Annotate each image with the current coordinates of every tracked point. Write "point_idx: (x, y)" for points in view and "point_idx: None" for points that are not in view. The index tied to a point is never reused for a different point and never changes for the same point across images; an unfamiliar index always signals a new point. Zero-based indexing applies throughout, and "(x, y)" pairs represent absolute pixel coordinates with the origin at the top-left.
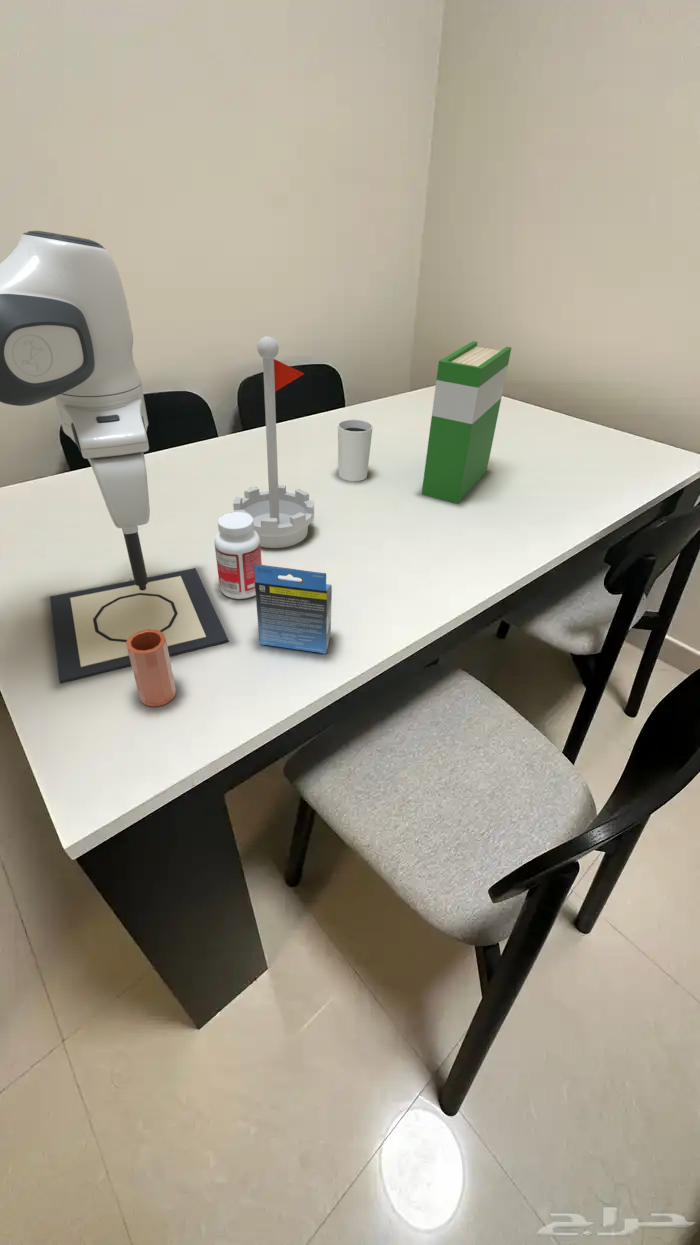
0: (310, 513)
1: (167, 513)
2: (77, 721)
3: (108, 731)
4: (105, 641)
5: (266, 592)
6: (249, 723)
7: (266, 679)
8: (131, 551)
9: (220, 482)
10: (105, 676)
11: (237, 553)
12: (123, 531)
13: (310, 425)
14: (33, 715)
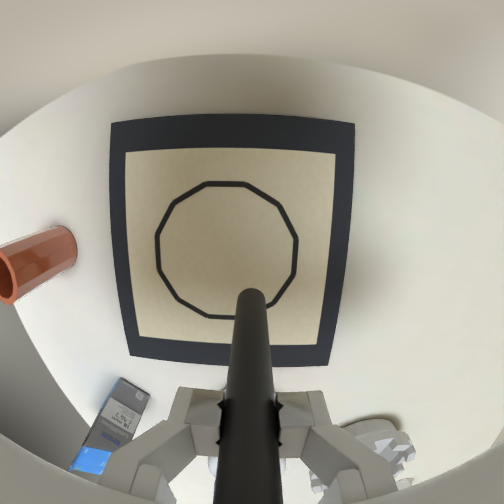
0: (325, 489)
1: (474, 339)
2: (50, 150)
3: (31, 185)
4: (171, 194)
5: (85, 439)
6: (25, 317)
7: (70, 356)
8: (232, 343)
9: (479, 395)
10: (104, 185)
11: (208, 457)
12: (177, 392)
13: (482, 450)
14: (77, 98)
